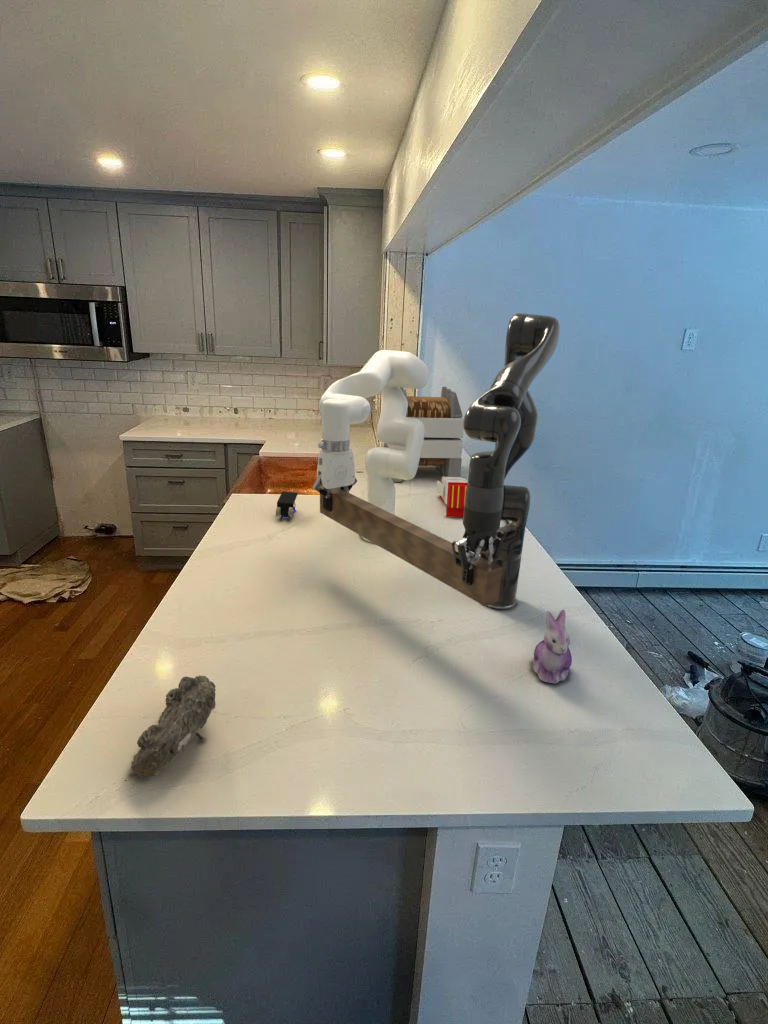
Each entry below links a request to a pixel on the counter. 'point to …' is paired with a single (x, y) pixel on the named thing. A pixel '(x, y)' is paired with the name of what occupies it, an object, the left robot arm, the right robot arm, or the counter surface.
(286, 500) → the figurine character
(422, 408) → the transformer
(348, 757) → the counter surface
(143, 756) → the fossil
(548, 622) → the figurine
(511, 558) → the right robot arm
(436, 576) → the beam
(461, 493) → the toy
